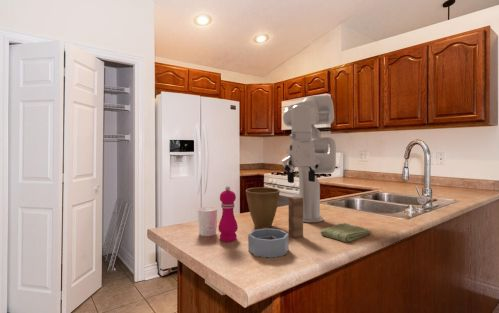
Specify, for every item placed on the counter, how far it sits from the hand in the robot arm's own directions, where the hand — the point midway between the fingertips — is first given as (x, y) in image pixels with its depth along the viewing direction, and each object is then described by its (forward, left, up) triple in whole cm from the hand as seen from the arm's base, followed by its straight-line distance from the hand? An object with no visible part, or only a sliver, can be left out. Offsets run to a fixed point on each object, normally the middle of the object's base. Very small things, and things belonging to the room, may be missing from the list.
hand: (301, 182), depth 109 cm
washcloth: (+6, +16, -22) cm, 28 cm away
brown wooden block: (-1, -2, -21) cm, 21 cm away
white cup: (-19, -32, -21) cm, 43 cm away
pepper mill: (-9, -27, -21) cm, 36 cm away
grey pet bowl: (+8, -19, -21) cm, 29 cm away
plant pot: (-19, -7, -21) cm, 29 cm away
